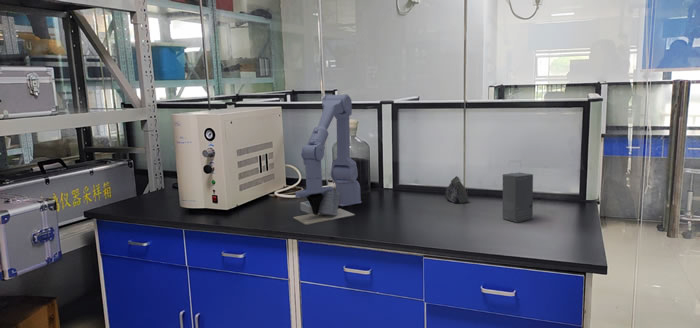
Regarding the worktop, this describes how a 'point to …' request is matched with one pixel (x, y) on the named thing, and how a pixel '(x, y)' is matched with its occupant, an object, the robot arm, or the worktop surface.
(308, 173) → the robot arm
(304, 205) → the button box
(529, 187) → the skincare box
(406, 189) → the worktop surface
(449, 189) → the mineral rock
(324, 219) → the cream flat sheet
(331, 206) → the medicine box
